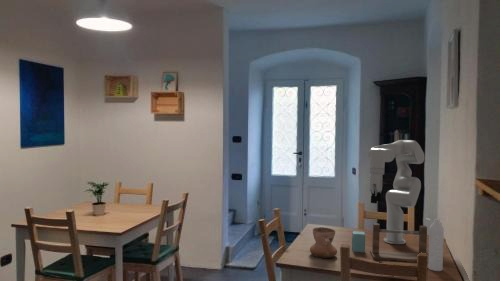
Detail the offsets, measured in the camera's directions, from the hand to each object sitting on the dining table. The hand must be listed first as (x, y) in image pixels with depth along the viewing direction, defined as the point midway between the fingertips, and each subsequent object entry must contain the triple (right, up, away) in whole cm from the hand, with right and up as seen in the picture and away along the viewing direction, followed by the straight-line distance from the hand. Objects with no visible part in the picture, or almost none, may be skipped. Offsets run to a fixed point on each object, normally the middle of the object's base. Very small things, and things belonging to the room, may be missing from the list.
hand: (376, 202), depth 223 cm
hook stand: (+10, -29, -8) cm, 31 cm away
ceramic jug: (-31, -28, -6) cm, 42 cm away
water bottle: (+20, -29, -25) cm, 44 cm away
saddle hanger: (-9, -28, +4) cm, 29 cm away
